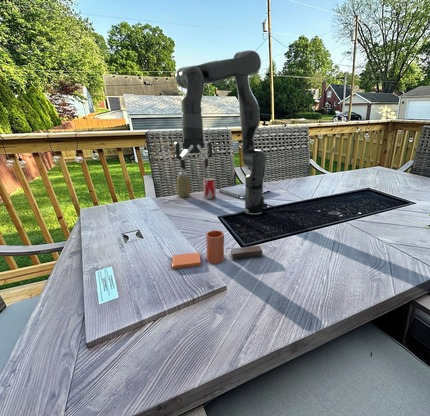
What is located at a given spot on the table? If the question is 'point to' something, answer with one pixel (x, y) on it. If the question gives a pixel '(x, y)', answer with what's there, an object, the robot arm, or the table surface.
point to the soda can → (209, 188)
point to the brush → (246, 252)
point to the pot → (215, 246)
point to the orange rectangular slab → (186, 260)
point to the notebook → (234, 191)
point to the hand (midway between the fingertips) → (194, 168)
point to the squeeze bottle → (183, 184)
